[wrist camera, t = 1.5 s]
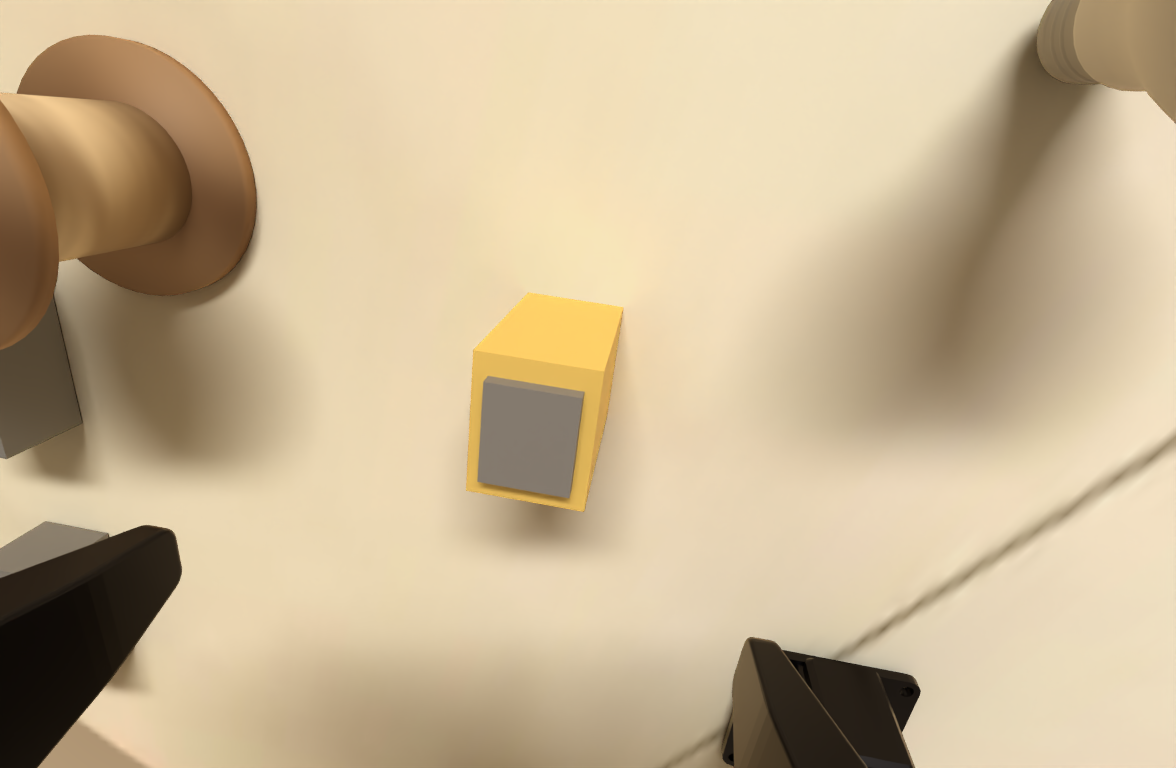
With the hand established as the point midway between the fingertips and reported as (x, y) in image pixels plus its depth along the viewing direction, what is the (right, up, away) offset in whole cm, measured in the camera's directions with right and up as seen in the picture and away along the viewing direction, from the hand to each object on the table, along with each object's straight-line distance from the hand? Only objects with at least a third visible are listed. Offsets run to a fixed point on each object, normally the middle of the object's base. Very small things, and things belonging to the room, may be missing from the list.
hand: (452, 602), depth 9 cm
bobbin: (-13, +10, +11) cm, 20 cm away
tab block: (+1, +4, +11) cm, 12 cm away
